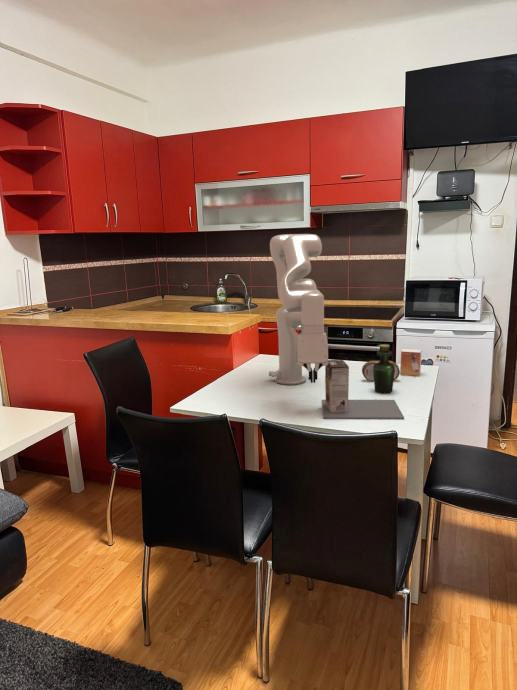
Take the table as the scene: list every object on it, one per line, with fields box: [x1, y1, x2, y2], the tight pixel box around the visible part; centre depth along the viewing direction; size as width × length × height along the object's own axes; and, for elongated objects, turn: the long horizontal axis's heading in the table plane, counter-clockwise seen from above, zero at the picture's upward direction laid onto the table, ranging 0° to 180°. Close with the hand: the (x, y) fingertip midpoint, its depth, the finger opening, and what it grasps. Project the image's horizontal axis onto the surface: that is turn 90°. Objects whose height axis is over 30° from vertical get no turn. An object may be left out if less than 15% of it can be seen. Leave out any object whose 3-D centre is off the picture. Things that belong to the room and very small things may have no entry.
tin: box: [361, 360, 400, 382], centre depth 201 cm, size 15×3×8 cm, turn 84°
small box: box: [399, 348, 422, 377], centre depth 209 cm, size 8×6×10 cm
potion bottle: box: [373, 343, 395, 395], centre depth 187 cm, size 8×8×18 cm
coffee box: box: [324, 359, 350, 412], centre depth 168 cm, size 9×6×16 cm
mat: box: [321, 399, 405, 420], centre depth 169 cm, size 26×18×1 cm
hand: (313, 381), depth 169 cm, fingers closed
